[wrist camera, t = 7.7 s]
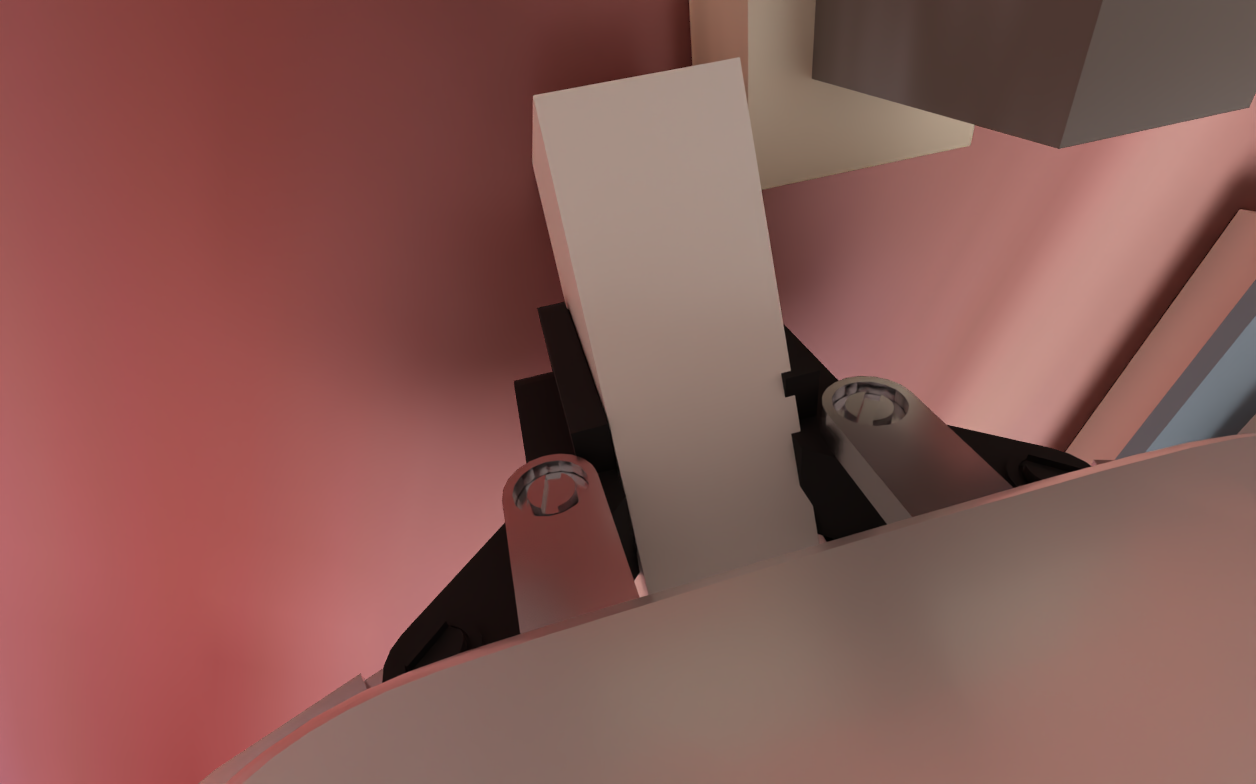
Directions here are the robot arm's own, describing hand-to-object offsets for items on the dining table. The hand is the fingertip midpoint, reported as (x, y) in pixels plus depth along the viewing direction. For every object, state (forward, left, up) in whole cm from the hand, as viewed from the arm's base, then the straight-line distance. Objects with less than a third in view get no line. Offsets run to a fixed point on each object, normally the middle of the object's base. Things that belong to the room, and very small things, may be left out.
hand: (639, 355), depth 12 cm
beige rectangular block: (0, 0, 0) cm, 0 cm away
